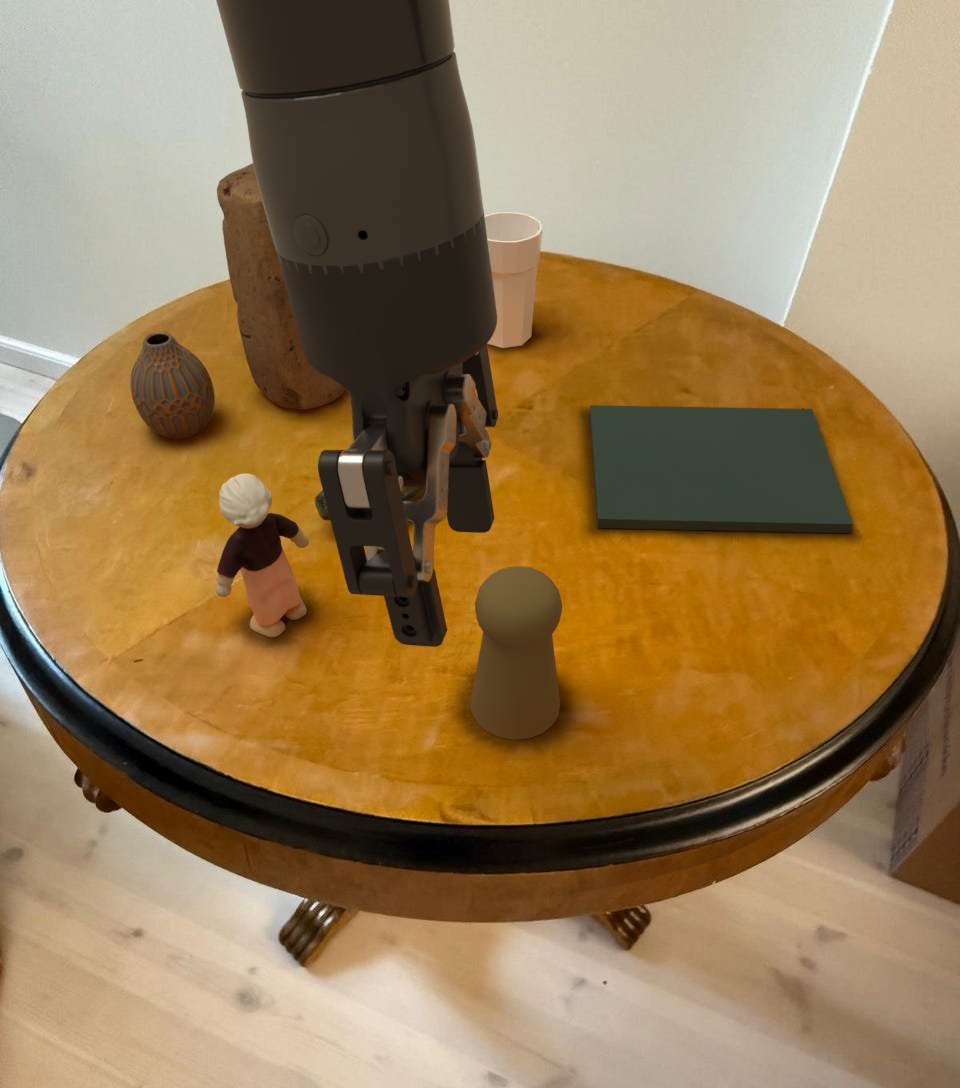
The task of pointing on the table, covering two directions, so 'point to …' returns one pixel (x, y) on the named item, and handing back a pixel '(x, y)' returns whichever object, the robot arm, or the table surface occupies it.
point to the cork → (517, 654)
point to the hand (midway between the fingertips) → (449, 580)
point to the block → (266, 301)
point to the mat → (713, 470)
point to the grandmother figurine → (259, 554)
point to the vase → (171, 388)
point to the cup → (513, 274)
